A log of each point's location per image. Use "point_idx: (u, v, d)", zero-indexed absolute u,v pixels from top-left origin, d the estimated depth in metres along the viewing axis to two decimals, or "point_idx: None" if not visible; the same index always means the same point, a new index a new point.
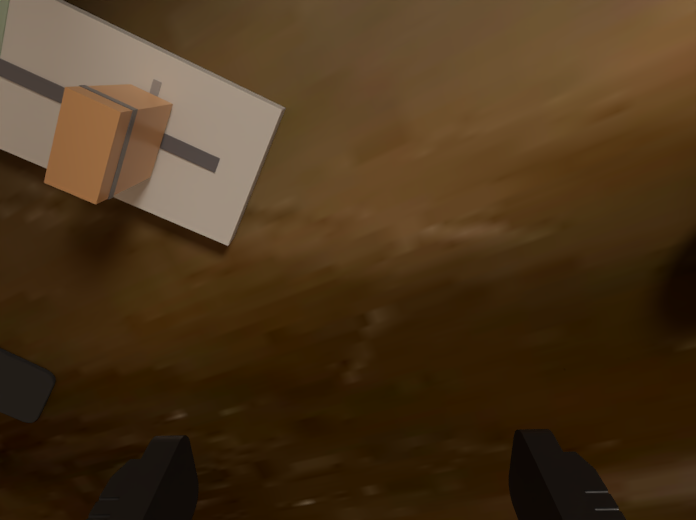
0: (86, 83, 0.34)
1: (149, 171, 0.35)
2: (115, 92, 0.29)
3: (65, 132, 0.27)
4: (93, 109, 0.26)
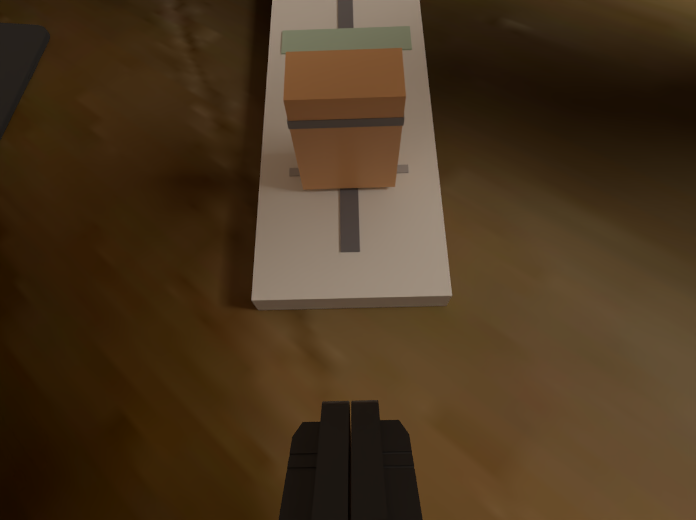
0: None
1: (311, 184, 0.29)
2: None
3: (354, 58, 0.23)
4: (393, 73, 0.23)
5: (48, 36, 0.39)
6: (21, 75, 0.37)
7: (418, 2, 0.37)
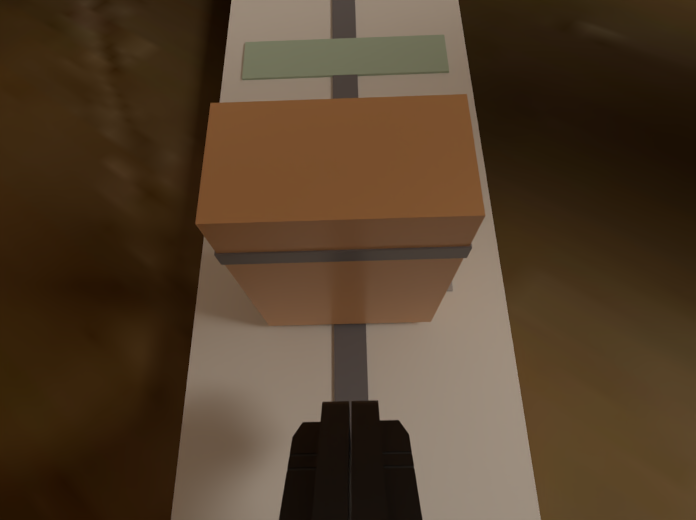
0: None
1: (283, 321, 0.17)
2: None
3: (361, 117, 0.10)
4: (452, 156, 0.10)
5: None
6: None
7: None
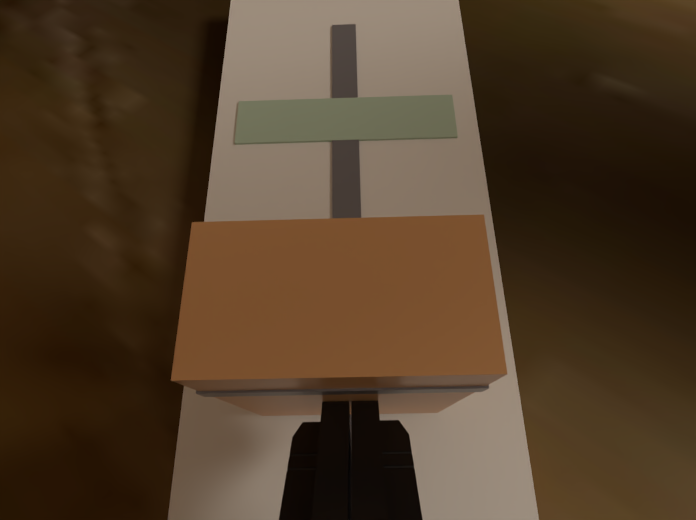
0: None
1: (277, 414, 0.15)
2: None
3: (363, 244, 0.09)
4: (468, 296, 0.09)
5: None
6: None
7: (464, 52, 0.23)
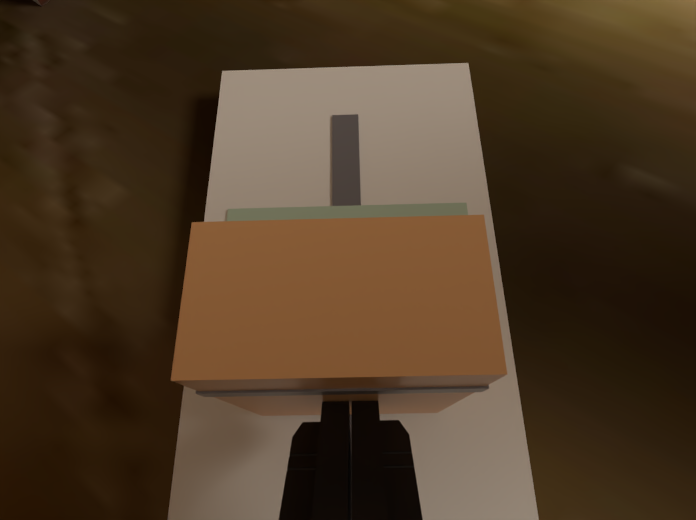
0: (394, 418, 0.16)
1: (277, 414, 0.15)
2: None
3: (363, 243, 0.09)
4: (468, 296, 0.09)
5: None
6: None
7: (479, 149, 0.20)
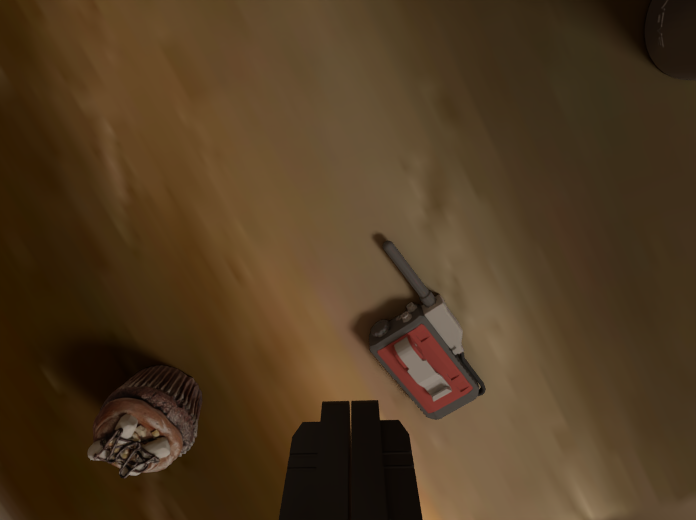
0: None
1: None
2: None
3: None
4: None
5: None
6: None
7: None
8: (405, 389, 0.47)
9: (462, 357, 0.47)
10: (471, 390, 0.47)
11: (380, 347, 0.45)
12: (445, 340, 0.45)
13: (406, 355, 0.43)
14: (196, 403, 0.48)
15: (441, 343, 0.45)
